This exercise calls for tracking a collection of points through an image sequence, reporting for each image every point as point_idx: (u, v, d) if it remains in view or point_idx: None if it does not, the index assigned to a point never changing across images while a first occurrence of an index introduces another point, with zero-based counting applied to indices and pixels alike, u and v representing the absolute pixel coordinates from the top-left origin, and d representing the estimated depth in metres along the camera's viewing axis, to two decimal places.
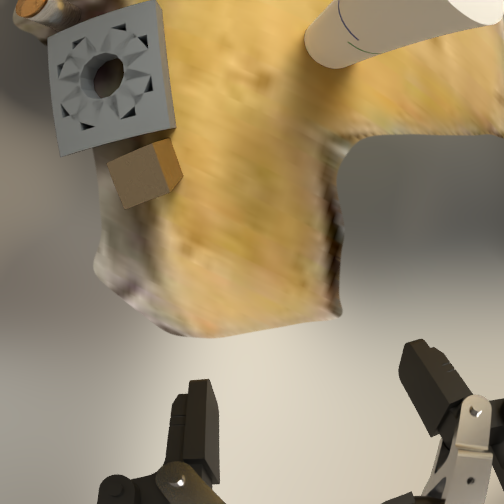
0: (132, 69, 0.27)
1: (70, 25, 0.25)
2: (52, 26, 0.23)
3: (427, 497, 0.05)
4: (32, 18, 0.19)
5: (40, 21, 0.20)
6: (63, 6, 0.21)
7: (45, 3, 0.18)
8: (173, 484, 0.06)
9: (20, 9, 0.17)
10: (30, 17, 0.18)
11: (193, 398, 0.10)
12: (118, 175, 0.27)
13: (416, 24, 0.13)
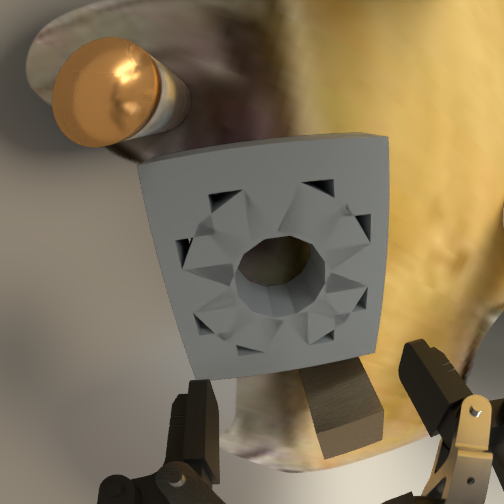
0: (340, 275, 0.19)
1: (175, 126, 0.17)
2: None
3: (427, 497, 0.05)
4: None
5: None
6: (177, 97, 0.13)
7: (152, 105, 0.10)
8: (173, 484, 0.06)
9: (70, 117, 0.09)
10: None
11: (193, 398, 0.10)
12: (329, 440, 0.19)
13: None
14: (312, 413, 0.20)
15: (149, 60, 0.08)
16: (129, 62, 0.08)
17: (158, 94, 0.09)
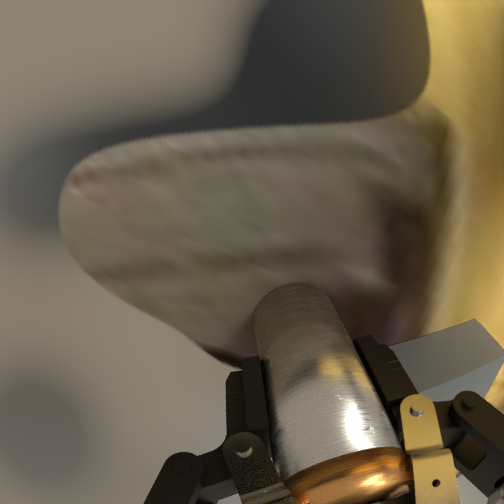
0: None
1: None
2: None
3: None
4: None
5: None
6: None
7: None
8: (242, 455, 0.07)
9: None
10: None
11: (248, 373, 0.11)
12: None
13: None
14: None
15: None
16: (396, 491, 0.06)
17: None
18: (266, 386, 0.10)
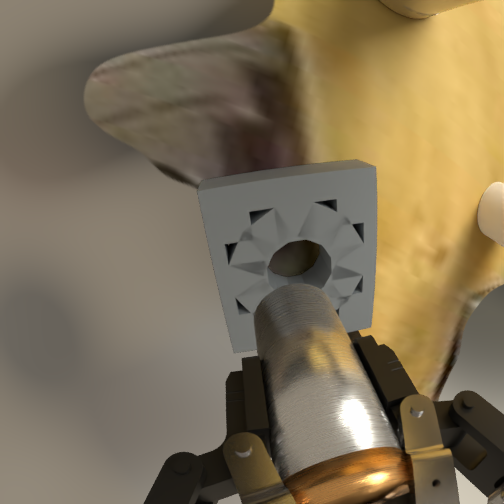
0: (342, 267, 0.26)
1: None
2: None
3: None
4: None
5: None
6: None
7: None
8: (242, 454, 0.07)
9: None
10: None
11: (248, 373, 0.11)
12: None
13: None
14: None
15: None
16: (395, 491, 0.06)
17: None
18: (265, 386, 0.10)
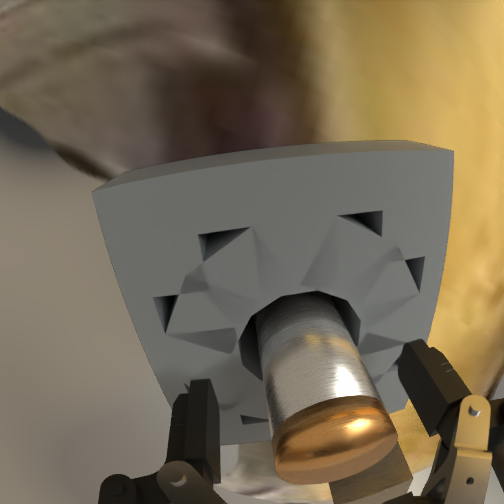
0: (378, 335, 0.13)
1: None
2: None
3: (427, 497, 0.05)
4: None
5: None
6: None
7: None
8: (174, 483, 0.06)
9: (299, 474, 0.08)
10: None
11: (194, 397, 0.10)
12: None
13: None
14: (330, 482, 0.15)
15: (396, 433, 0.08)
16: (378, 440, 0.07)
17: None
18: (262, 350, 0.12)
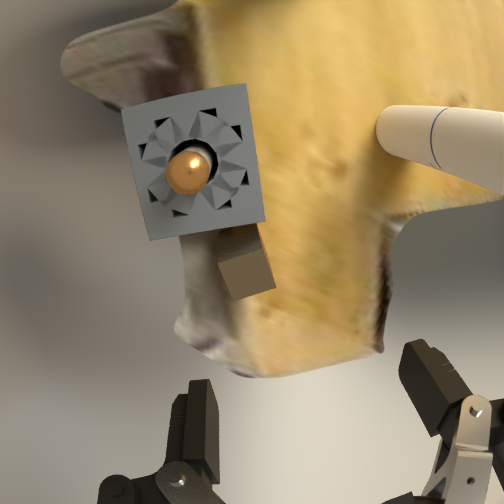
0: (227, 161, 0.33)
1: None
2: None
3: (427, 497, 0.05)
4: None
5: None
6: (211, 166, 0.32)
7: None
8: (173, 484, 0.06)
9: (175, 182, 0.28)
10: None
11: (193, 398, 0.10)
12: (229, 274, 0.33)
13: (498, 193, 0.19)
14: (218, 255, 0.34)
15: (206, 163, 0.27)
16: (198, 164, 0.27)
17: None
18: None
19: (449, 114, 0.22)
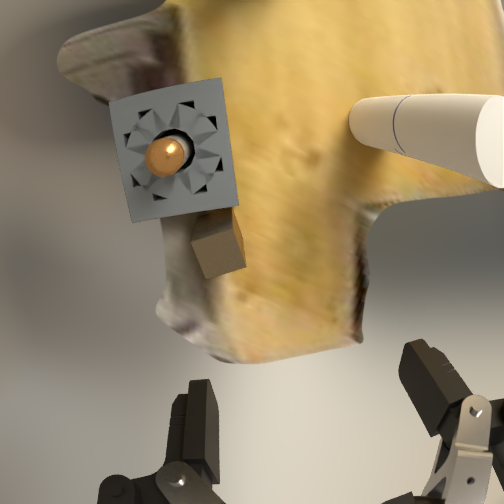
0: (203, 149, 0.35)
1: None
2: None
3: (427, 497, 0.05)
4: None
5: None
6: (188, 153, 0.34)
7: None
8: (173, 484, 0.06)
9: (152, 165, 0.30)
10: None
11: (193, 398, 0.10)
12: (201, 252, 0.35)
13: (457, 171, 0.21)
14: (193, 235, 0.36)
15: (180, 148, 0.29)
16: (174, 149, 0.29)
17: (183, 159, 0.30)
18: None
19: (410, 100, 0.24)
